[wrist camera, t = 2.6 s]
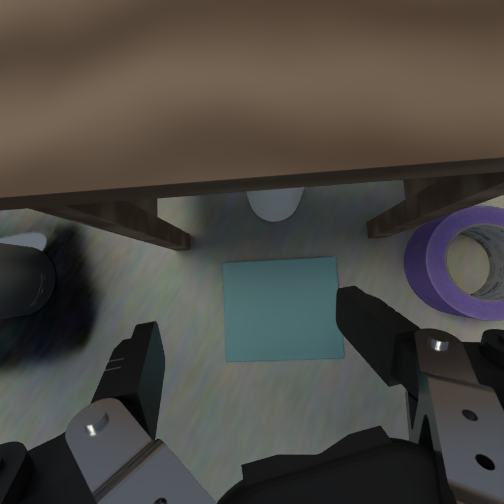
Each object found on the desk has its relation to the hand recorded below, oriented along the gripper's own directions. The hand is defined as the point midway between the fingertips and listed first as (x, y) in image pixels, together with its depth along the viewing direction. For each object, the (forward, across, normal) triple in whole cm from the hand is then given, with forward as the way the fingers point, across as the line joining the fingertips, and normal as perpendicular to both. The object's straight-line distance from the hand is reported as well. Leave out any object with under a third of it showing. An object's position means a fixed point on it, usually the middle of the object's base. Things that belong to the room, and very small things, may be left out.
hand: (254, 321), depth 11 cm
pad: (+17, +6, -11) cm, 21 cm away
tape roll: (+14, +27, -7) cm, 31 cm away
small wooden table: (+23, +8, +2) cm, 24 cm away
